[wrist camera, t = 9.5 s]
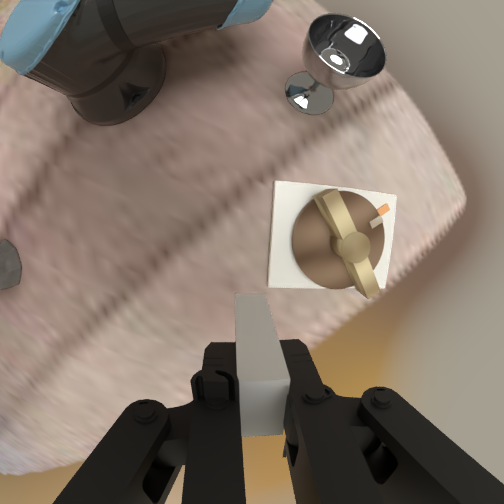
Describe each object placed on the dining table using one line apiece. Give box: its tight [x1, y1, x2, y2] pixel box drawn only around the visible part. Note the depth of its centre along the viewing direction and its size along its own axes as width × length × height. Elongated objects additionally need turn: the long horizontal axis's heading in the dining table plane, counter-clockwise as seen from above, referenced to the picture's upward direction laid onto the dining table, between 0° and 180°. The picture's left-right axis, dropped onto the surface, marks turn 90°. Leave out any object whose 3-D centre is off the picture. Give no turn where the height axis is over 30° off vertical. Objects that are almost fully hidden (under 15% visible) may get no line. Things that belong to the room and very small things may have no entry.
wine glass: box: [285, 13, 386, 115], centre depth 25 cm, size 8×8×15 cm
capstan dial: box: [292, 188, 385, 299], centre depth 32 cm, size 14×13×6 cm
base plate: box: [267, 181, 397, 288], centre depth 36 cm, size 14×18×2 cm
